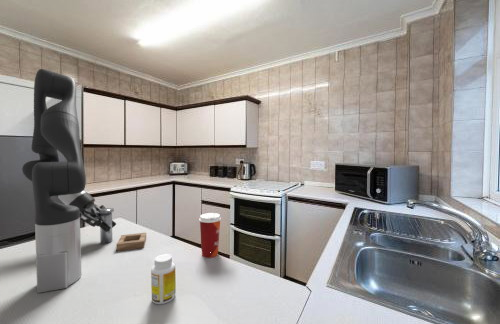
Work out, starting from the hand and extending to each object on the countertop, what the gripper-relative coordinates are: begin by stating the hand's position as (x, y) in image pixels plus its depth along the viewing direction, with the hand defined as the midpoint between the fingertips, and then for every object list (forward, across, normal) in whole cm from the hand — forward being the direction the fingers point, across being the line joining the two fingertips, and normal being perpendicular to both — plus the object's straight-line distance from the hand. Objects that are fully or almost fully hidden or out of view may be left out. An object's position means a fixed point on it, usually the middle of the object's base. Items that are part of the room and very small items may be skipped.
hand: (111, 227), depth 86 cm
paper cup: (+32, -17, -24) cm, 43 cm away
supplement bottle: (+24, -38, -16) cm, 48 cm away
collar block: (+10, -4, -2) cm, 11 cm away
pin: (+3, 0, +5) cm, 6 cm away
